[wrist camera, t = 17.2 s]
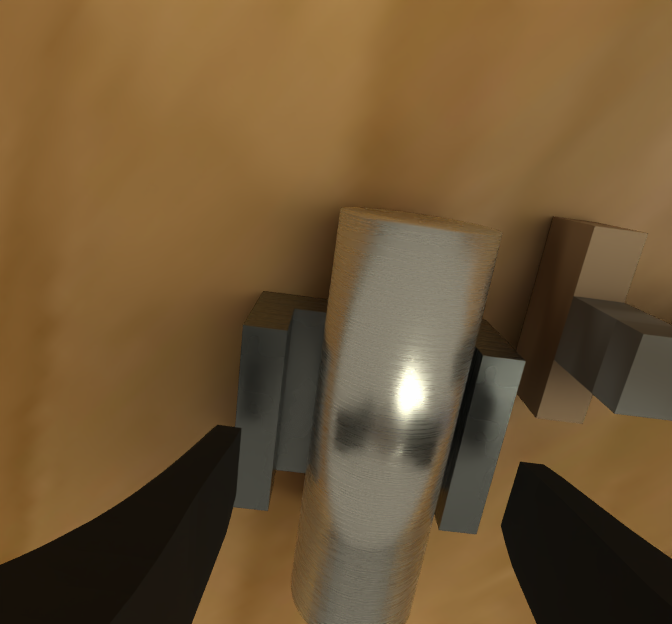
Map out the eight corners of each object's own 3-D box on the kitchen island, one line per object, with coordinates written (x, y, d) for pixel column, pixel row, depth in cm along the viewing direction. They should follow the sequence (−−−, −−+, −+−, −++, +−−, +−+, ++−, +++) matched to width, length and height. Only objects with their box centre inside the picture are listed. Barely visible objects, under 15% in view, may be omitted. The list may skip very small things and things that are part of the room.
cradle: (263, 291, 15) (243, 325, 12) (485, 320, 16) (526, 361, 12) (250, 441, 17) (229, 506, 14) (449, 464, 18) (476, 534, 14)
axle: (328, 202, 13) (360, 221, 9) (458, 218, 14) (537, 241, 10) (286, 539, 16) (297, 652, 13) (391, 535, 17) (430, 640, 13)
